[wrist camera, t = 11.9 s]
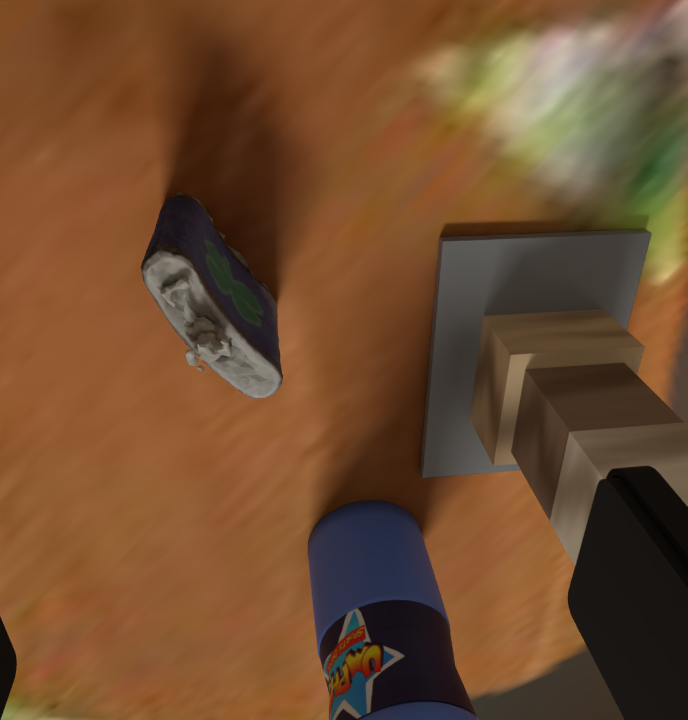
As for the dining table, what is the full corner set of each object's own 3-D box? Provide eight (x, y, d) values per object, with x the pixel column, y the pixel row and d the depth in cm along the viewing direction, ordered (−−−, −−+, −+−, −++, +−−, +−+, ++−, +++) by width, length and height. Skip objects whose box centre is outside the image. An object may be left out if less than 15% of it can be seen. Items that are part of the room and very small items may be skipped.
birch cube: (569, 431, 31) (633, 519, 26) (683, 422, 31) (768, 506, 26) (549, 521, 34) (602, 616, 29) (654, 511, 34) (725, 602, 29)
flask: (285, 308, 39) (294, 406, 29) (246, 332, 39) (243, 437, 30) (188, 181, 34) (163, 251, 25) (145, 211, 35) (106, 290, 25)
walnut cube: (525, 369, 36) (570, 431, 31) (624, 362, 37) (685, 423, 31) (510, 451, 39) (550, 521, 34) (602, 444, 40) (654, 512, 34)
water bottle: (446, 532, 50) (591, 934, 29) (368, 599, 53) (447, 1010, 32) (360, 480, 46) (452, 900, 25) (281, 555, 49) (303, 991, 28)
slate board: (439, 236, 37) (443, 241, 37) (644, 228, 39) (651, 233, 38) (420, 471, 46) (422, 478, 46) (586, 457, 48) (591, 464, 47)
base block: (482, 315, 40) (510, 355, 35) (602, 309, 40) (644, 346, 36) (469, 419, 44) (493, 465, 39) (579, 411, 45) (614, 456, 40)
